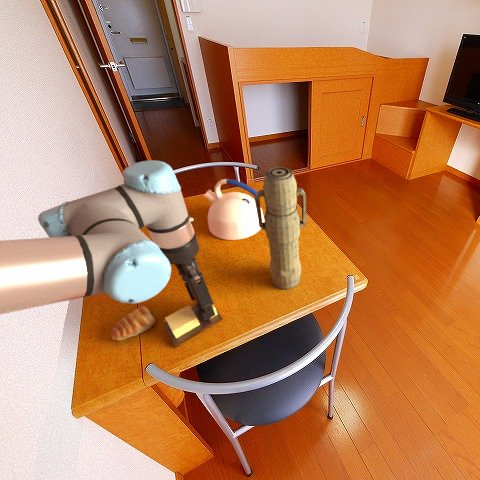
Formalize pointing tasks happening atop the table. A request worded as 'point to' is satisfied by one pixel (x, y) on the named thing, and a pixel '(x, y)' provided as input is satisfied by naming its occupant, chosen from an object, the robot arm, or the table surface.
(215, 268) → the table surface
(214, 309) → the butter slice
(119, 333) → the pastry
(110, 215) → the robot arm
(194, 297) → the cutter
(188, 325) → the butter block
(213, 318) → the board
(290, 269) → the thermos
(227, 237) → the kettle
